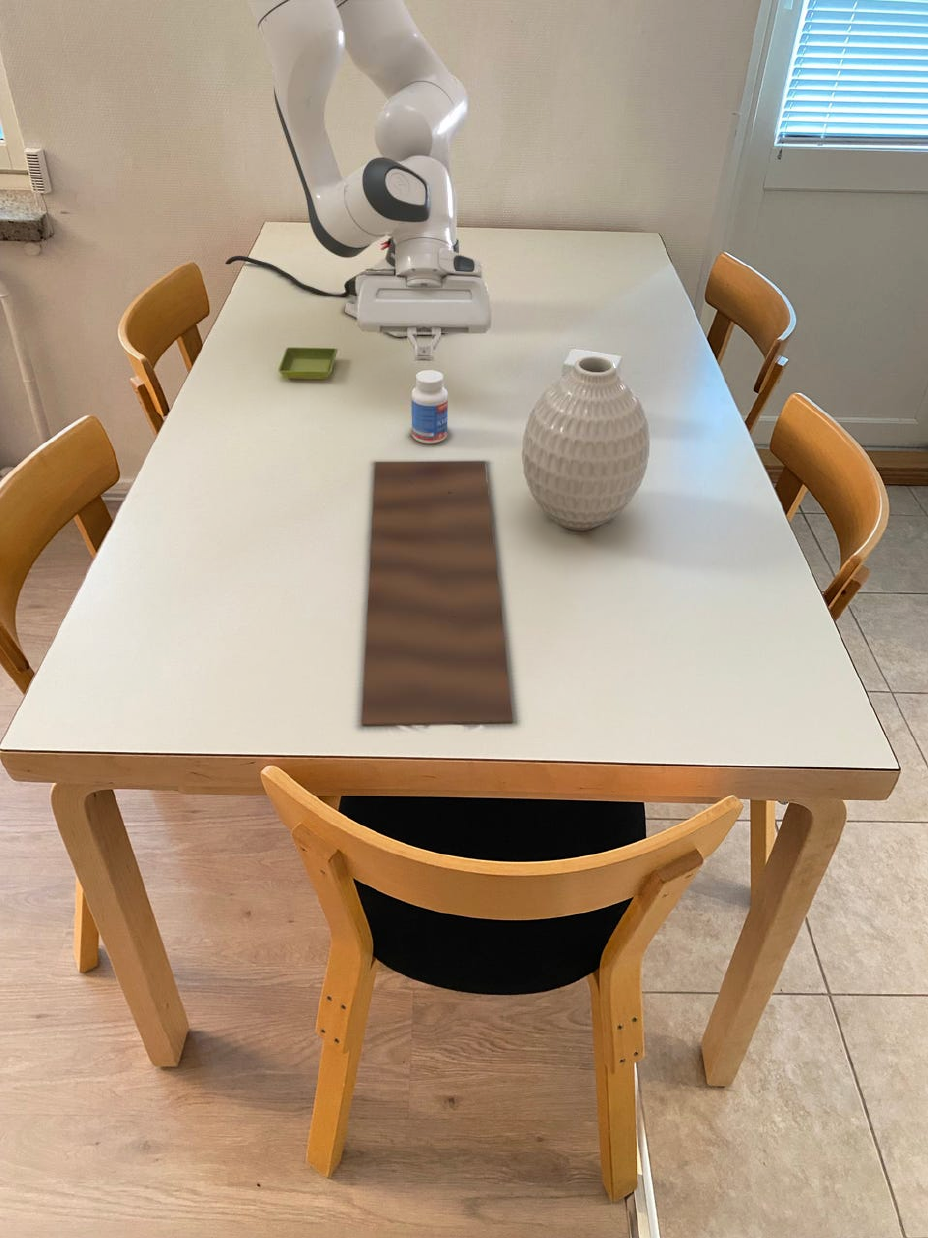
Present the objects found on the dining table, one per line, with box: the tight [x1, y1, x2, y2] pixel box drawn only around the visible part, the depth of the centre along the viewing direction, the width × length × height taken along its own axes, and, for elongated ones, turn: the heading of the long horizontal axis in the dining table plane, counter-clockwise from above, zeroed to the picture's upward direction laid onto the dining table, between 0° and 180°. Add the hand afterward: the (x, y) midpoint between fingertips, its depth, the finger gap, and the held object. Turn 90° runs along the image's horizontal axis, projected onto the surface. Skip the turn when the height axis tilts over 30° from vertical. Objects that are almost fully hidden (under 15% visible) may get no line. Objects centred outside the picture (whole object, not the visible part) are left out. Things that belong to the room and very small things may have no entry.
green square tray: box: [277, 346, 338, 380], centre depth 161 cm, size 9×9×2 cm
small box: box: [561, 348, 623, 378], centre depth 147 cm, size 8×6×10 cm
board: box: [361, 460, 514, 726], centre depth 121 cm, size 51×16×1 cm, turn 2°
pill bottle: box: [410, 369, 449, 444], centre depth 143 cm, size 6×5×10 cm
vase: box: [521, 356, 651, 531], centre depth 124 cm, size 16×16×22 cm
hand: (424, 359), depth 145 cm, fingers closed
